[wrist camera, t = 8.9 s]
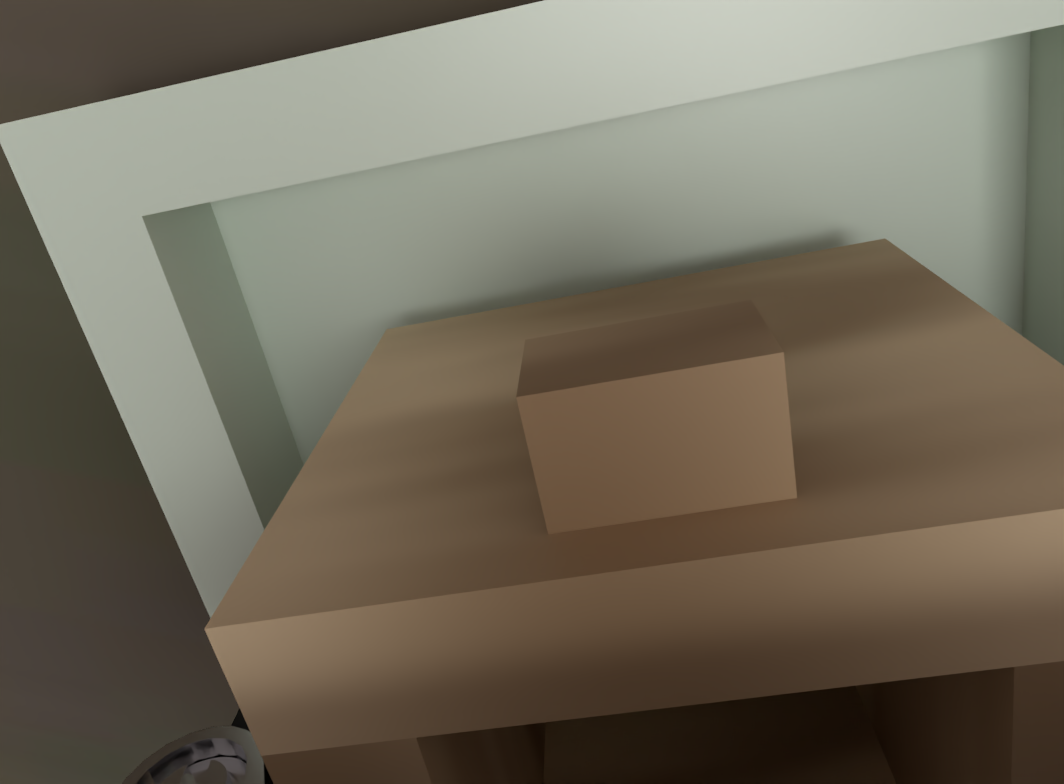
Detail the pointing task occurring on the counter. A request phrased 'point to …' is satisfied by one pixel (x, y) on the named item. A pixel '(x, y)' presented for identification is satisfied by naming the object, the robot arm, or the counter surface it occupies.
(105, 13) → the counter surface
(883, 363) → the ring
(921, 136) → the tray
